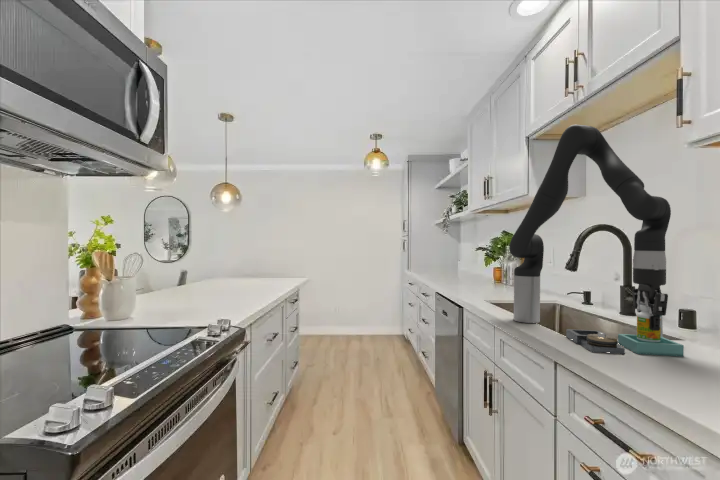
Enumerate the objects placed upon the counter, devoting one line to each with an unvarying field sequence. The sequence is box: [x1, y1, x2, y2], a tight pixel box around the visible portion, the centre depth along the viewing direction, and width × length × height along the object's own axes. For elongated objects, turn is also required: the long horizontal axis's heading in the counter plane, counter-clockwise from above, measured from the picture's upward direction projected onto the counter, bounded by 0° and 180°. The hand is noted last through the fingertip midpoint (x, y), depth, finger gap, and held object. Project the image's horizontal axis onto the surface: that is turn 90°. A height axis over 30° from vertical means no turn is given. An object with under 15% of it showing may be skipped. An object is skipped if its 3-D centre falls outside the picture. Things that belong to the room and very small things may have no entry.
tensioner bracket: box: [565, 328, 626, 355], centre depth 115 cm, size 18×9×4 cm, turn 170°
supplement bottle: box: [636, 304, 661, 342], centre depth 111 cm, size 5×5×10 cm
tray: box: [617, 333, 685, 358], centre depth 110 cm, size 11×11×3 cm
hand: (648, 327), depth 110 cm, fingers closed on supplement bottle, 5 cm apart
